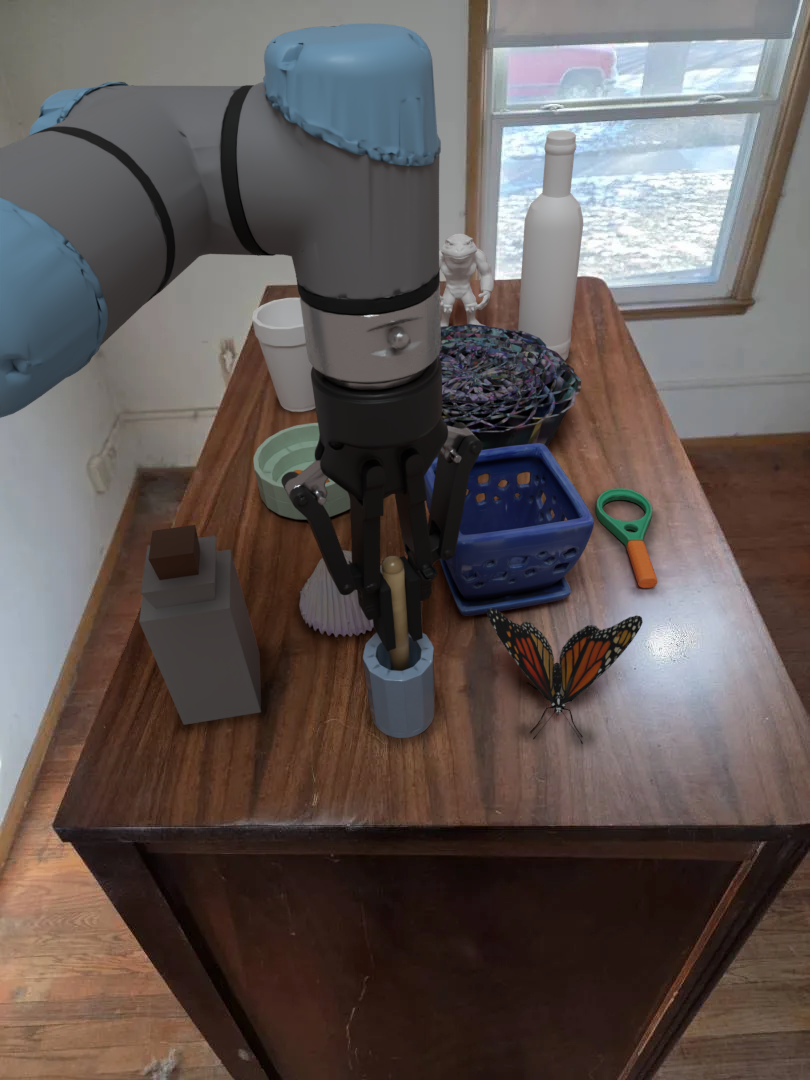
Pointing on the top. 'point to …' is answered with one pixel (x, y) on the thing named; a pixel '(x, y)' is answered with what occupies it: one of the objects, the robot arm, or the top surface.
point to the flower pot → (515, 532)
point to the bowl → (286, 456)
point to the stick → (398, 612)
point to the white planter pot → (286, 352)
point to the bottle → (552, 250)
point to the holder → (400, 688)
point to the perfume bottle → (199, 626)
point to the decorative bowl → (504, 385)
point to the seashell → (332, 605)
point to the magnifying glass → (630, 540)
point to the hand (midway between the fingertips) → (398, 632)
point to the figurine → (463, 276)
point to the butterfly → (564, 656)
